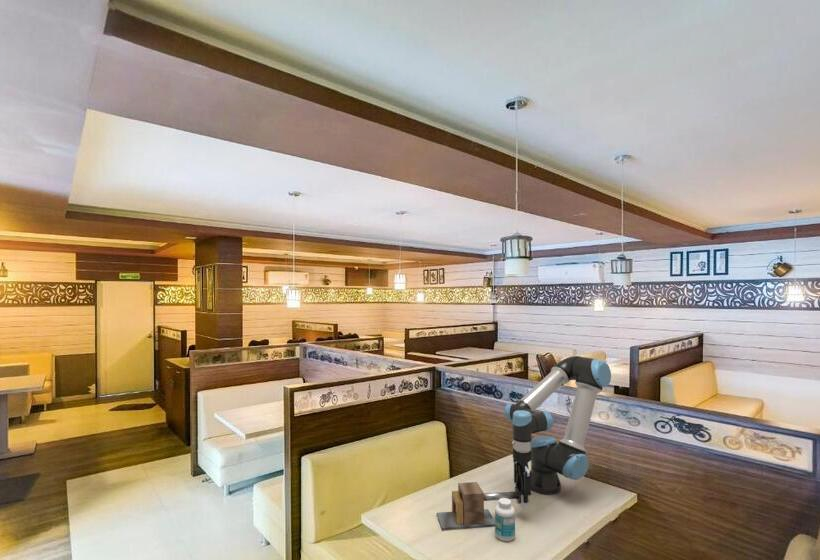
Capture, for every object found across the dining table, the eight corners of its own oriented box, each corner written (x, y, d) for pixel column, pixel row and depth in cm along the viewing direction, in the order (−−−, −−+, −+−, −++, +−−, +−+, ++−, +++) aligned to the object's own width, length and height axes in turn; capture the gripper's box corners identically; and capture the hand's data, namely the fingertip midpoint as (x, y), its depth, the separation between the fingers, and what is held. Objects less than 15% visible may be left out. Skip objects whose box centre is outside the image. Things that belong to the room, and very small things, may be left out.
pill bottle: (492, 531, 162) (492, 496, 162) (511, 530, 163) (511, 495, 163) (498, 543, 155) (498, 506, 155) (517, 542, 155) (517, 505, 155)
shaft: (524, 497, 175) (524, 485, 175) (528, 503, 171) (528, 490, 171) (470, 501, 172) (470, 489, 172) (473, 506, 168) (473, 494, 168)
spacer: (457, 512, 174) (457, 490, 174) (463, 524, 165) (463, 501, 165) (451, 513, 173) (451, 491, 173) (456, 525, 164) (456, 502, 164)
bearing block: (488, 511, 176) (487, 480, 176) (496, 526, 165) (496, 493, 165) (436, 515, 173) (436, 483, 174) (442, 530, 162) (442, 496, 163)
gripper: (505, 442, 181) (505, 496, 181) (521, 458, 164) (521, 518, 163) (522, 441, 182) (522, 495, 182) (539, 457, 165) (540, 517, 164)
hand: (522, 506), depth 172 cm, fingers closed on shaft, 4 cm apart
